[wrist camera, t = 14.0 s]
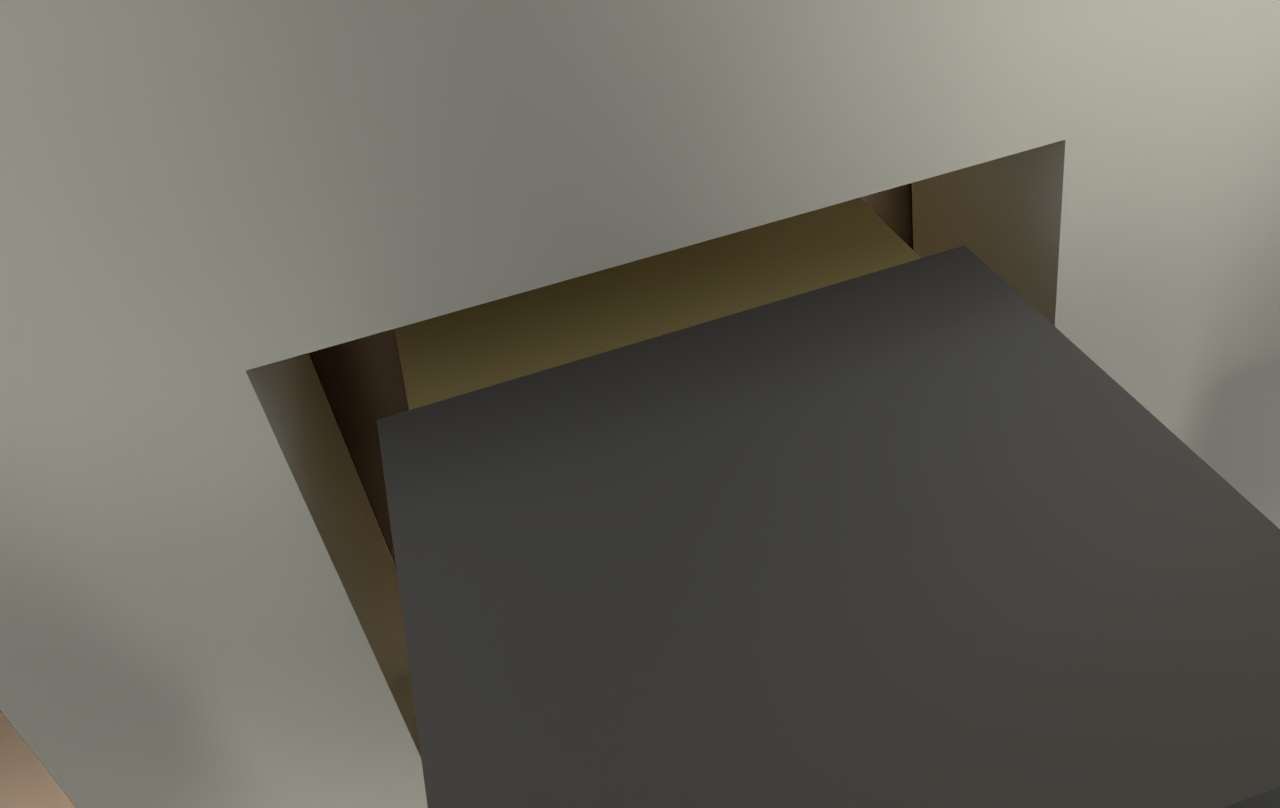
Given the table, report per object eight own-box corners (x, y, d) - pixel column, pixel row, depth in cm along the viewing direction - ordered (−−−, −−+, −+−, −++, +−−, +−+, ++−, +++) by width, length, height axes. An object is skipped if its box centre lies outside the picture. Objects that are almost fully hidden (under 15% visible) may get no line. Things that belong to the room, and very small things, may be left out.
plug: (859, 488, 13) (1304, 1143, 7) (482, 607, 13) (654, 1403, 7) (831, 125, 10) (1482, 712, 5) (354, 258, 10) (464, 1084, 4)
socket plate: (1081, 822, 18) (1181, 970, 16) (405, 1064, 17) (423, 1255, 15) (1250, -737, 8) (1597, -861, 6) (-515, -403, 6) (-873, -414, 4)
